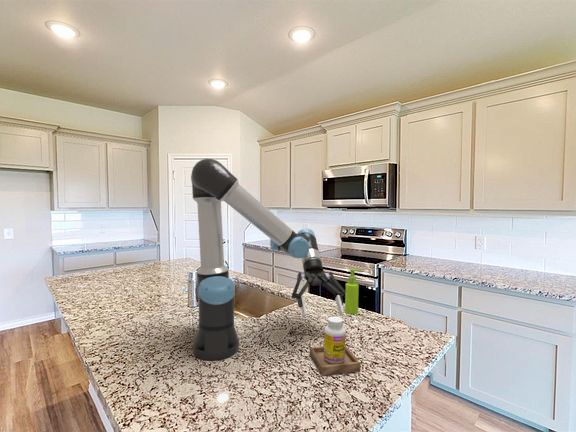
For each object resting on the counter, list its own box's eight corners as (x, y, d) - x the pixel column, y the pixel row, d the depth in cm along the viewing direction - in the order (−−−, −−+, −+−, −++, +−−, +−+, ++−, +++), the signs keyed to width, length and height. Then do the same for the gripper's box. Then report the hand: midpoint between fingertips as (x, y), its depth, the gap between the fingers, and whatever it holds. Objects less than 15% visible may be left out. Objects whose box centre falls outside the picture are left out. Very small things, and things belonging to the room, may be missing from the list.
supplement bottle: (331, 367, 89) (332, 325, 88) (319, 356, 94) (320, 317, 94) (349, 361, 92) (350, 321, 91) (336, 352, 97) (337, 313, 97)
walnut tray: (322, 375, 86) (322, 367, 86) (309, 354, 97) (309, 347, 97) (360, 371, 88) (360, 363, 88) (343, 351, 100) (343, 344, 100)
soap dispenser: (360, 315, 133) (361, 271, 132) (344, 313, 134) (346, 270, 133) (360, 310, 139) (361, 268, 138) (345, 309, 140) (346, 267, 139)
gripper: (338, 267, 122) (352, 317, 108) (279, 268, 117) (286, 321, 103) (344, 257, 117) (360, 308, 103) (282, 258, 111) (290, 311, 97)
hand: (323, 314), depth 103 cm, fingers open, 13 cm apart
